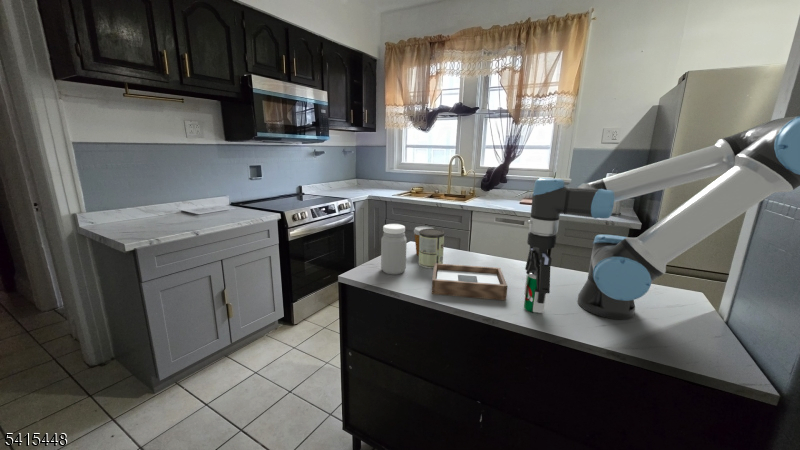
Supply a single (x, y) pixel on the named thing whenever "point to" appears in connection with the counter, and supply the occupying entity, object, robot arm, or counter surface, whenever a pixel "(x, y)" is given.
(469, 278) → the socket plate
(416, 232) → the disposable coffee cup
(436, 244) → the coffee can
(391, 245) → the jar
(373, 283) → the counter surface
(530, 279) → the soda can
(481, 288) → the open box
